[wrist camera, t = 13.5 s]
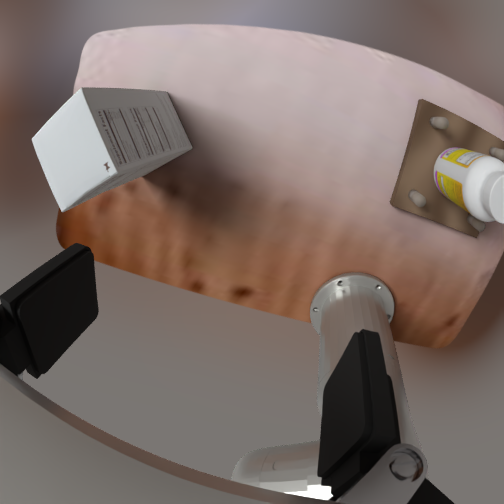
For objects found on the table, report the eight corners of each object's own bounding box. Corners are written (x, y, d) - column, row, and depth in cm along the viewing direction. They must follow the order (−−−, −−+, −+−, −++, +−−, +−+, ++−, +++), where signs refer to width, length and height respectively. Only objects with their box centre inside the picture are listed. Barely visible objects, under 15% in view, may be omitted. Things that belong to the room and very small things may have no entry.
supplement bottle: (462, 206, 32) (512, 246, 21) (423, 184, 32) (469, 217, 21) (481, 161, 29) (540, 185, 18) (443, 136, 29) (498, 149, 18)
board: (502, 142, 28) (519, 146, 24) (472, 234, 34) (486, 246, 30) (418, 99, 29) (431, 97, 25) (389, 202, 36) (398, 213, 32)
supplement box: (167, 89, 35) (83, 82, 20) (195, 148, 38) (121, 171, 23) (115, 124, 38) (28, 138, 23) (140, 178, 41) (59, 215, 26)
